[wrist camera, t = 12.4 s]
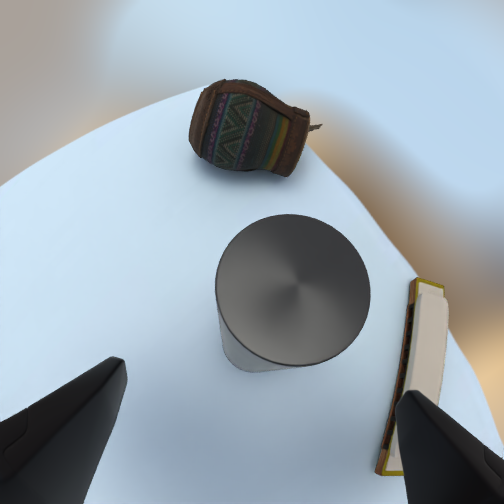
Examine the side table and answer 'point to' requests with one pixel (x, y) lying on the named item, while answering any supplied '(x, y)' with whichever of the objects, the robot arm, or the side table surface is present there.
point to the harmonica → (417, 361)
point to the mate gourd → (248, 128)
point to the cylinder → (289, 294)
